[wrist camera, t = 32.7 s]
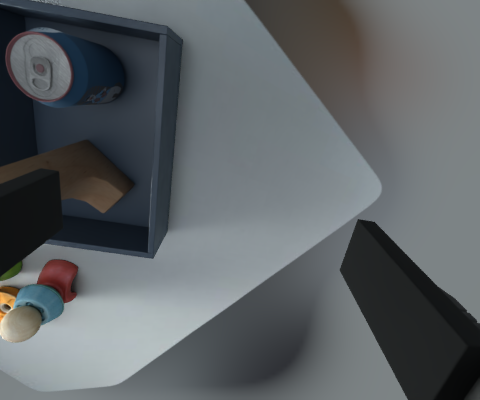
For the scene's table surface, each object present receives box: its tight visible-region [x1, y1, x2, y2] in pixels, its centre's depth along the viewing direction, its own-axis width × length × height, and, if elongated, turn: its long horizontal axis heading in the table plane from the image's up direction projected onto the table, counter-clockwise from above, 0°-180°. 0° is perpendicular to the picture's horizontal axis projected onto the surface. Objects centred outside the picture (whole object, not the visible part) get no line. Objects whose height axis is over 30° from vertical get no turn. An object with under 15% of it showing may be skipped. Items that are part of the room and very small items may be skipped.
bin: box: [0, 0, 183, 259], centre depth 36 cm, size 28×20×8 cm
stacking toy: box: [0, 260, 78, 343], centre depth 43 cm, size 18×17×12 cm
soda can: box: [6, 27, 124, 108], centre depth 30 cm, size 7×7×12 cm
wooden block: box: [0, 140, 134, 213], centre depth 32 cm, size 9×4×18 cm, turn 41°
